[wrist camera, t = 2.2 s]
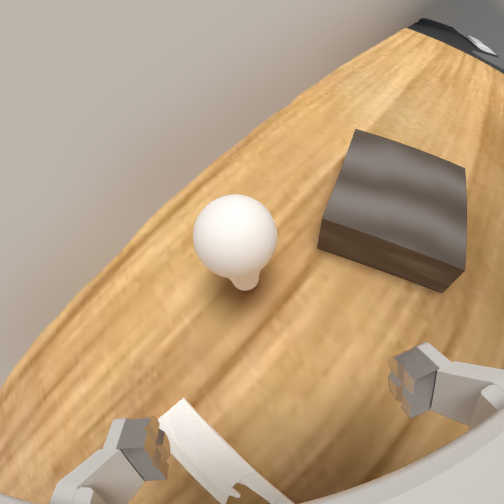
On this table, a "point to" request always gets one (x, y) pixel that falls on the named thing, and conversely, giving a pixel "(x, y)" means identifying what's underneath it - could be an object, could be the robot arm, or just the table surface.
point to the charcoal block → (398, 212)
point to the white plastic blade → (212, 456)
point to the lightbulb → (235, 239)
